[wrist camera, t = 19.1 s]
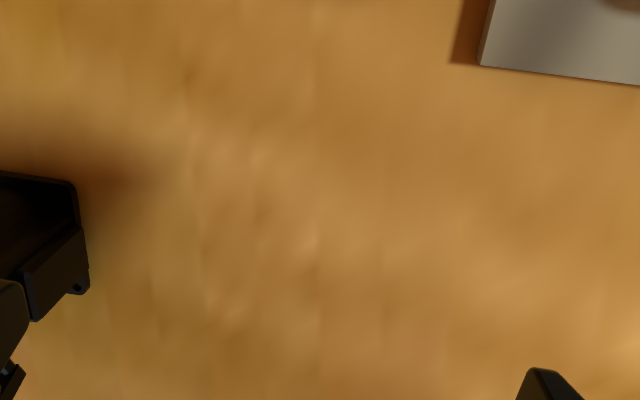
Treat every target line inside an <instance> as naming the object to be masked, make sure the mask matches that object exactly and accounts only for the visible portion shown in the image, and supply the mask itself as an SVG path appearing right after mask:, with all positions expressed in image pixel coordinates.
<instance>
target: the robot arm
mask: <svg viewBox="0 0 640 400" xmlns="http://www.w3.org/2000/svg"><path fill="white" fill-rule="evenodd" d="M61 189H62V190H64V191H65V192H66V194H67V195H66V194H64V193H63V192H62V190H61ZM88 269H89V264H88V257H87V251H86V244H85V237H84V230H83V227H82V226H81V219H80V212H79V206H78V199H77V192H76V189H75V187H74V186H73V185H72V184H71V183H70V182H68V181H64V180H58V179H51V178H44V177H38V176H31V175H24V174H18V173H11V172H4V171H0V400H13V398H14V396H15V394H16V392H17V390H18V389H19V387H20V385H21V383H22V381H23V379H24V377H25V376H26V373H25V371H24V370H23V369H22V368H21V367H20V366H19V364H14V362H13V361H12V360H11V359H10V357H11V355H12V353H13V352H14V350H15V349H16V347H17V345H18V344H19V342H20V340H21V339H22V337H23V335H24V334H25V332H26V330H27V328H28V325H29V322H30V321H31V322H38V321H39V320H41V319H42V318H43V317H44V316H45V315H46V314H47V313H48V312H49V311H50V310H51V309H52V307H53V306H54V305H55V304H56V303H57V302H58V301H59V300H60V299H61V298H62V297H63V296H64V295H65V294H66V293H69V294H75V295H83V294H85V292H86V291H87V290H88V289H89V288H90V279H89V273H88ZM78 284H79V285H80V286H79V285H78ZM515 400H585V399H584V398H583V397H582V396H581V395H580V394H579V393H578V392H577V391H576V390H575V389H574V388H573V387H572V386H571V385H570V384H569V383H568V382H567V381H566V380H565V379H564V378H563V377H562V376H561V375H560V374H559V373H558V372H556V371H554V370H549V369H543V368H537V367H533V368H530V369H529V370H528V371H527V373H526V375H525V378H524V380H523V383H522V385H521V387H520V390H519V392H518V394H517V397H516V399H515Z"/></svg>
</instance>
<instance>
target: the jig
mask: <svg viewBox="0 0 640 400" xmlns="http://www.w3.org/2000/svg"><path fill="white" fill-rule="evenodd" d="M476 61H477V62H478V63H479V64H480V65H484V66H492V67H500V68H508V69H515V70H523V71H531V72H539V73H547V74H554V75H562V76H570V77H578V78H586V79H593V80H601V81H609V82H617V83H625V84H632V85H640V0H490V3H489V7H488V11H487V15H486V19H485V23H484V28H483V32H482V36H481V40H480V44H479V48H478V52H477V56H476Z"/></svg>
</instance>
